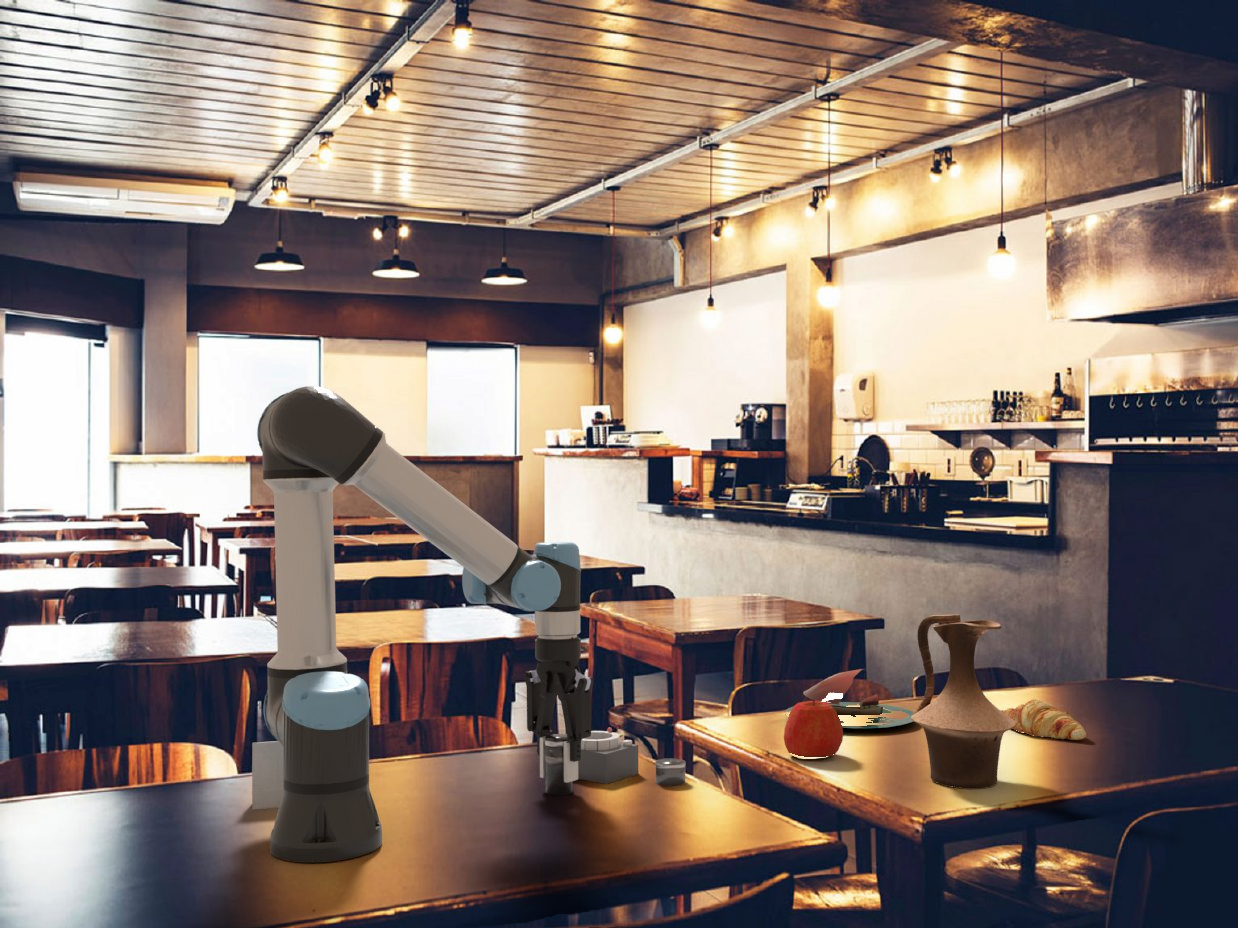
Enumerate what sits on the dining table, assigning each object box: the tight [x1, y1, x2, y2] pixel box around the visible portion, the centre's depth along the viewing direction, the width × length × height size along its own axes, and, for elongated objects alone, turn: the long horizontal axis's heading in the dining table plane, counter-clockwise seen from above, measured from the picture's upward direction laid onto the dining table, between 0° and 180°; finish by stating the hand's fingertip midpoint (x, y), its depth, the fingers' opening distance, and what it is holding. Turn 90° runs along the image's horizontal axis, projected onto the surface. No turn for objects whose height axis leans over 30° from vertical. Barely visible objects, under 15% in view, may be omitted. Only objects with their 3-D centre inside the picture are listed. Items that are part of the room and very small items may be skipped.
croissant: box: [999, 699, 1087, 741], centre depth 235 cm, size 21×10×8 cm, turn 31°
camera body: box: [578, 727, 640, 785], centre depth 204 cm, size 9×12×7 cm
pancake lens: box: [654, 758, 686, 787], centre depth 198 cm, size 5×5×4 cm
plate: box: [784, 668, 915, 729], centre depth 249 cm, size 28×28×11 cm
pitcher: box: [911, 613, 1016, 790], centre depth 197 cm, size 18×17×28 cm
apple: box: [783, 699, 844, 757], centre depth 216 cm, size 11×11×11 cm
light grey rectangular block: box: [251, 740, 284, 810], centre depth 186 cm, size 4×7×10 cm, turn 107°
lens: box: [545, 733, 573, 796], centre depth 192 cm, size 5×5×9 cm
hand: (559, 777), depth 192 cm, fingers closed on lens, 5 cm apart
